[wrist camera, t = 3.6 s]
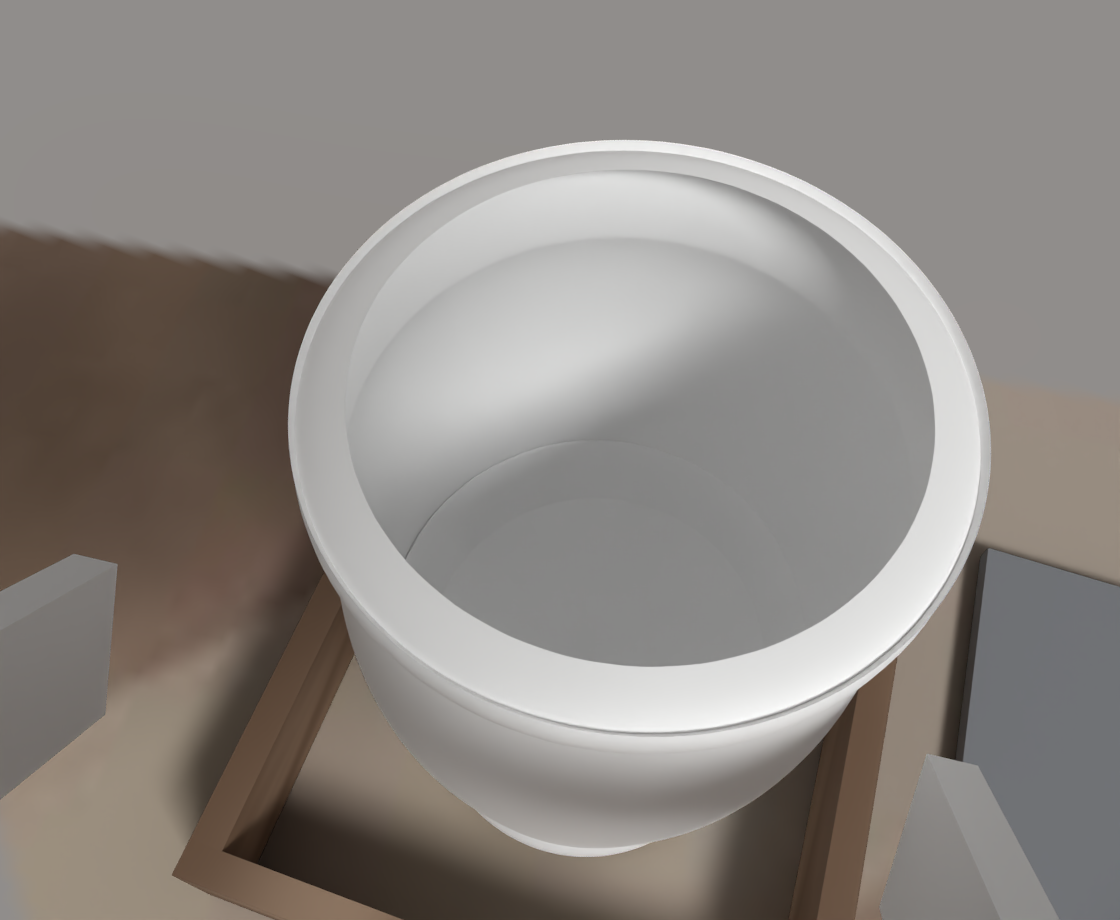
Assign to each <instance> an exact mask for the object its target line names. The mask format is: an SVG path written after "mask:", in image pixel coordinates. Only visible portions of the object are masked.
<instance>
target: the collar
mask: <svg viewBox="0 0 1120 920" xmlns="http://www.w3.org/2000/svg"><path fill="white" fill-rule="evenodd" d="M353 655H354V650H353V647H352V644H351V641H350V637H349V634H348V630H347V626H346V622H345V618H344V614H343V609H342V604H341V599H340V596H339V595H338V593H337V592H336V590H335V589H334V587H333V585H332V584H331V582H330V580H329V579H328V577H327V575H326V573H325V572H324V573H323V575H322V577H321V579H320V581H319V583H318V585H317V587H316V589H315V591H314V593H313V595H312V597H311V599H310V601H309V603H308V605H307V607H306V609H305V611H304V613H303V615H302V617H301V619H300V621H299V623H298V625H297V627H296V629H295V631H294V633H293V635H292V637H291V639H290V641H289V643H288V645H287V647H286V649H285V651H284V653H283V655H282V657H281V659H280V661H279V663H278V665H277V667H276V669H275V671H274V673H273V675H272V677H271V678H270V680H269V682H268V684H267V686H266V688H265V690H264V692H263V694H262V696H261V698H260V700H259V702H258V704H257V706H256V708H255V710H254V712H253V714H252V716H251V718H250V720H249V722H248V724H247V726H246V728H245V730H244V732H243V734H242V736H241V738H240V740H239V742H238V744H237V746H236V748H235V750H234V752H233V754H232V756H231V758H230V760H229V762H228V764H227V766H226V768H225V770H224V772H223V774H222V776H221V778H220V780H219V782H218V784H217V786H216V788H215V790H214V792H213V794H212V796H211V798H210V800H209V802H208V804H207V806H206V808H205V810H204V812H203V814H202V816H201V818H200V820H199V822H198V824H197V826H196V828H195V830H194V832H193V834H192V836H191V838H190V840H189V842H188V844H187V846H186V848H185V850H184V852H183V854H182V856H181V858H180V860H179V862H178V864H177V866H176V868H175V870H174V871H173V873H172V876H174V877H176V878H178V879H180V880H182V881H184V882H186V883H188V884H190V885H192V886H194V887H196V888H198V889H200V890H202V891H204V892H206V893H208V894H210V895H213V896H215V897H218V898H220V899H223V900H226V901H228V902H231V903H233V904H236V905H239V906H241V907H244V908H246V909H249V910H251V911H254V912H257V913H259V914H262V915H264V916H267V917H270V918H272V919H275V920H403V919H400V918H397V917H395V916H392V915H389V914H387V913H384V912H381V911H379V910H376V909H373V908H371V907H368V906H366V905H363V904H360V903H358V902H355V901H352V900H350V899H347V898H344V897H342V896H339V895H336V894H334V893H331V892H329V891H326V890H323V889H321V888H318V887H315V886H313V885H310V884H307V883H305V882H302V881H299V880H297V879H294V878H292V877H289V876H286V875H284V874H281V873H278V872H276V871H273V870H270V869H268V868H265V867H262V866H260V865H257V863H258V860H259V858H260V856H261V854H262V852H263V850H264V847H265V845H266V843H267V841H268V839H269V837H270V834H271V832H272V830H273V828H274V826H275V824H276V822H277V819H278V817H279V815H280V813H281V811H282V809H283V806H284V804H285V802H286V800H287V798H288V796H289V793H290V791H291V789H292V787H293V785H294V783H295V780H296V778H297V776H298V774H299V772H300V770H301V768H302V765H303V763H304V761H305V759H306V757H307V755H308V752H309V750H310V748H311V746H312V744H313V742H314V739H315V737H316V735H317V733H318V731H319V729H320V727H321V724H322V722H323V720H324V718H325V716H326V714H327V711H328V709H329V707H330V705H331V703H332V701H333V698H334V696H335V694H336V692H337V690H338V688H339V685H340V683H341V681H342V679H343V677H344V675H345V673H346V670H347V668H348V666H349V664H350V662H351V660H352V657H353ZM897 657H898V656H897ZM897 657H896V658H895V659H894V660H893V661H892V662H891V663H890V664H888V665H887V666H886V667H885V668H884V669H883V670H882V671H880V672H879V673H878V674H877V675H876V676H875V677H873V678H872V679H871V680H870V681H868V682H867V683H866V684H865V685H863V686H862V687H861V688H859V689H858V690H857V691H856V693H855V695H854V696H853V698H852V699H851V701H850V702H849V704H848V705H847V707H846V708H845V710H844V711H843V713H842V714H841V716H840V717H839V718H838V720H837V721H836V722H835V724H834V725H833V726H832V728H831V729H830V730H829V732H828V733H827V734H826V735H825V736H824V740H823V745H822V750H821V756H820V761H819V766H818V771H817V776H816V781H815V786H814V792H813V797H812V802H811V807H810V812H809V817H808V822H807V828H806V833H805V838H804V843H803V848H802V853H801V858H800V864H799V869H798V874H797V879H796V884H795V889H794V894H793V900H792V905H791V910H790V915H789V920H855V915H856V909H857V903H858V896H859V890H860V884H861V878H862V872H863V866H864V860H865V853H866V847H867V841H868V835H869V829H870V823H871V816H872V810H873V804H874V798H875V792H876V786H877V780H878V773H879V767H880V761H881V755H882V749H883V743H884V737H885V730H886V724H887V718H888V712H889V706H890V700H891V693H892V687H893V681H894V675H895V669H896V663H897Z"/></svg>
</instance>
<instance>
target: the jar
mask: <svg viewBox="0 0 1120 920" xmlns="http://www.w3.org/2000/svg"><path fill="white" fill-rule="evenodd" d="M288 440H289V452H290V461H291V467H292V473H293V478H294V482H295V488H296V493H297V498H298V503H299V507H300V511H301V514H302V518H303V521H304V524H305V527H306V530H307V532H308V535H309V538H310V540H311V543H312V545H313V548H314V550H315V553H316V555H317V557H318V560H319V562H320V564H321V566H322V568H323V570H324V572H325V573H326V575H327V577H328V579H329V580H330V582H331V584H332V585H333V587H334V589H335V590H336V592H337V593H338V595H339V596H340V599H341V604H342V609H343V614H344V618H345V622H346V626H347V630H348V634H349V637H350V641H351V644H352V647H353V650H354V653H355V656H356V659H357V661H358V664H359V666H360V669H361V671H362V674H363V676H364V678H365V681H366V683H367V685H368V687H369V689H370V691H371V693H372V695H373V697H374V699H375V701H376V703H377V705H378V707H379V708H380V710H381V712H382V713H383V715H384V717H385V718H386V720H387V722H388V723H389V725H390V726H391V728H392V729H393V731H394V732H395V734H396V735H397V736H398V738H399V739H400V740H401V742H402V743H403V744H404V746H405V747H406V748H407V749H408V751H409V752H410V753H411V754H412V755H413V757H414V758H415V759H416V760H417V761H418V762H419V763H420V764H421V765H422V766H423V767H424V769H425V770H426V771H427V772H428V773H429V774H430V775H432V776H433V777H434V778H435V779H436V780H437V781H438V782H439V783H440V784H441V785H443V786H444V787H445V788H446V789H447V790H449V791H450V792H451V793H452V794H454V795H455V796H456V797H458V798H459V799H460V800H462V801H463V802H464V803H466V804H467V805H469V806H470V807H472V808H474V809H475V810H476V811H477V812H478V813H479V814H480V815H481V816H482V817H483V818H485V819H486V820H487V821H488V822H489V823H491V824H492V825H493V826H494V827H496V828H497V829H499V830H500V831H501V832H503V833H505V834H506V835H508V836H510V837H511V838H513V839H515V840H517V841H519V842H521V843H523V844H526V845H528V846H530V847H533V848H536V849H539V850H542V851H546V852H550V853H554V854H559V855H565V856H575V857H598V856H607V855H613V854H618V853H623V852H626V851H630V850H633V849H636V848H639V847H641V846H644V845H646V844H649V843H651V842H655V841H660V840H664V839H668V838H672V837H676V836H679V835H682V834H686V833H689V832H691V831H694V830H697V829H699V828H702V827H704V826H707V825H709V824H711V823H714V822H716V821H718V820H720V819H722V818H724V817H726V816H728V815H730V814H732V813H734V812H735V811H737V810H739V809H741V808H742V807H744V806H746V805H747V804H749V803H750V802H752V801H753V800H755V799H756V798H758V797H759V796H761V795H762V794H764V793H765V792H766V791H768V790H769V789H770V788H772V787H773V786H774V785H775V784H777V783H778V782H779V781H780V780H782V779H783V778H784V777H785V776H786V775H787V774H789V773H790V772H791V771H792V770H793V769H794V768H795V767H796V766H797V765H798V764H799V763H800V762H801V761H802V760H804V758H805V757H806V756H807V755H808V754H809V753H810V752H811V751H812V750H813V749H814V748H815V747H816V746H817V745H818V743H819V742H820V741H821V740H822V739H823V738H824V736H825V735H826V734H827V733H828V732H829V730H830V729H831V728H832V726H833V725H834V724H835V722H836V721H837V720H838V718H839V717H840V716H841V714H842V713H843V711H844V710H845V708H846V707H847V705H848V704H849V702H850V701H851V699H852V698H853V696H854V695H855V693H856V691H857V690H858V689H859V688H861V687H862V686H863V685H865V684H866V683H867V682H868V681H870V680H871V679H872V678H873V677H875V676H876V675H877V674H878V673H879V672H880V671H882V670H883V669H884V668H885V667H886V666H887V665H888V664H890V663H891V662H892V661H893V660H894V659H895V658H896V657H897V656H898V655H899V654H900V653H901V652H902V651H903V650H904V649H905V648H906V647H907V646H908V645H909V644H910V643H911V641H912V640H913V639H914V638H915V637H916V636H917V634H918V633H919V632H920V630H921V629H922V628H923V627H924V625H925V624H926V623H927V621H928V620H929V618H930V617H931V616H932V614H933V613H934V612H935V610H936V609H937V608H938V606H939V605H940V604H941V602H942V601H943V600H944V598H945V597H946V595H947V594H948V592H949V591H950V589H951V587H952V586H953V584H954V583H955V581H956V579H957V577H958V576H959V574H960V572H961V570H962V568H963V566H964V564H965V562H966V560H967V558H968V556H969V553H970V551H971V549H972V546H973V544H974V541H975V539H976V536H977V533H978V530H979V527H980V523H981V520H982V516H983V512H984V508H985V504H986V499H987V493H988V487H989V479H990V467H991V437H990V425H989V417H988V410H987V404H986V399H985V395H984V390H983V386H982V383H981V379H980V376H979V373H978V370H977V367H976V364H975V361H974V358H973V356H972V353H971V351H970V349H969V346H968V344H967V342H966V339H965V337H964V335H963V333H962V331H961V329H960V327H959V325H958V323H957V322H956V320H955V318H954V316H953V315H952V313H951V311H950V310H949V308H948V307H947V305H946V303H945V302H944V300H943V299H942V297H941V296H940V294H939V293H938V292H937V290H936V289H935V288H934V286H933V285H932V284H931V282H930V281H929V280H928V278H927V277H926V276H925V275H924V274H923V272H922V271H921V270H920V269H919V268H918V267H917V265H916V264H915V263H914V262H913V261H912V260H911V259H910V258H909V257H908V256H907V255H906V254H905V253H904V252H903V251H902V250H901V249H900V248H899V247H898V246H897V245H896V244H895V243H894V242H893V241H892V240H891V239H890V238H888V237H887V236H886V235H885V234H884V233H883V232H882V231H880V230H879V229H878V228H877V227H876V226H874V225H873V224H872V223H870V222H869V221H868V220H867V219H865V218H864V217H863V216H861V215H860V214H858V213H857V212H856V211H854V210H853V209H851V208H850V207H848V206H847V205H845V204H844V203H842V202H841V201H839V200H837V199H836V198H834V197H832V196H831V195H829V194H827V193H826V192H824V191H822V190H820V189H818V188H816V187H814V186H812V185H811V184H808V183H807V182H805V181H802V180H800V179H798V178H796V177H794V176H792V175H790V174H787V173H785V172H783V171H780V170H778V169H775V168H773V167H769V166H767V165H764V164H762V163H759V162H756V161H753V160H750V159H746V158H743V157H740V156H736V155H733V154H729V153H725V152H721V151H716V150H712V149H707V148H702V147H697V146H691V145H685V144H677V143H669V142H659V141H643V140H605V141H590V142H579V143H571V144H564V145H558V146H552V147H547V148H542V149H537V150H533V151H528V152H525V153H521V154H517V155H513V156H510V157H507V158H503V159H500V160H497V161H494V162H492V163H489V164H486V165H484V166H481V167H479V168H476V169H474V170H471V171H469V172H466V173H464V174H462V175H460V176H458V177H456V178H454V179H452V180H450V181H448V182H446V183H444V184H442V185H440V186H438V187H437V188H435V189H433V190H431V191H430V192H428V193H426V194H425V195H423V196H421V197H420V198H419V199H417V200H415V201H414V202H412V203H411V204H409V205H408V206H407V207H405V208H404V209H403V210H401V211H400V212H398V213H397V214H396V215H395V216H393V217H392V218H391V219H390V220H388V221H387V222H386V223H385V224H384V225H383V226H381V227H380V228H379V229H378V230H377V231H376V232H375V233H374V234H373V235H372V236H371V237H370V238H369V239H368V240H367V241H366V242H365V243H364V244H363V245H362V246H361V247H360V248H359V249H358V250H357V251H356V252H355V253H354V255H353V256H352V257H351V258H350V259H349V260H348V262H347V263H346V264H345V265H344V267H343V268H342V269H341V271H340V272H339V273H338V275H337V276H336V278H335V279H334V280H333V282H332V283H331V285H330V286H329V288H328V290H327V291H326V293H325V295H324V296H323V298H322V300H321V301H320V303H319V305H318V307H317V309H316V311H315V313H314V315H313V317H312V319H311V321H310V324H309V326H308V328H307V331H306V333H305V336H304V339H303V341H302V344H301V347H300V350H299V354H298V357H297V361H296V365H295V369H294V373H293V378H292V384H291V390H290V398H289V410H288Z"/></svg>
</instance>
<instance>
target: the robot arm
mask: <svg viewBox="0 0 1120 920" xmlns="http://www.w3.org/2000/svg"><path fill="white" fill-rule="evenodd" d="M117 565H118V564H115V563H111V562H107V561H102V560H98V559H94V558H90V557H85V556H81V555H77V554H72V555H70V556H69V557H67V558H65V559H63V560H61V561H59V562H57V563H55V564H53V565H51V566H49V567H47V568H45V569H43V570H41V571H39V572H37V573H35V574H33V575H31V576H29V577H27V578H26V579H24V580H22V581H20V582H18V583H16V584H14V585H12V586H10V587H8V588H6V589H4V590H2V591H0V799H2V798H3V797H4V796H5V795H7V794H8V793H9V792H10V791H12V790H13V789H14V788H15V787H16V786H18V785H19V784H20V783H21V782H23V781H24V780H25V779H26V778H28V777H29V776H30V775H31V774H32V773H34V772H35V771H36V770H37V769H39V768H40V767H41V766H42V765H44V764H45V763H46V762H47V761H49V760H50V759H51V758H52V757H53V756H55V755H56V754H57V753H58V752H60V751H61V750H62V749H63V748H65V747H66V746H67V745H68V744H69V743H71V742H72V741H73V740H74V739H76V738H77V737H78V736H79V735H81V734H82V733H83V732H84V731H86V730H87V729H88V728H89V727H90V726H92V725H93V724H94V723H95V722H97V721H98V720H99V719H100V718H102V717H103V716H104V715H105V711H106V698H107V686H108V674H109V662H110V650H111V638H112V625H113V613H114V601H115V589H116V577H117ZM879 908H880V912H881V915H882V919H883V920H1059V918H1058V916H1057V914H1056V912H1055V910H1054V908H1053V906H1052V905H1051V903H1050V901H1049V899H1048V897H1047V895H1046V893H1045V891H1044V890H1043V888H1042V886H1041V884H1040V882H1039V880H1038V878H1037V876H1036V874H1035V873H1034V871H1033V869H1032V867H1031V865H1030V863H1029V861H1028V859H1027V857H1026V856H1025V854H1024V852H1023V850H1022V848H1021V846H1020V844H1019V842H1018V840H1017V839H1016V837H1015V835H1014V833H1013V831H1012V829H1011V827H1010V825H1009V823H1008V822H1007V820H1006V818H1005V816H1004V814H1003V812H1002V810H1001V808H1000V806H999V805H998V803H997V801H996V799H995V797H994V795H993V793H992V791H991V789H990V788H989V786H988V784H987V782H986V780H985V778H984V776H983V774H982V773H981V771H980V769H979V767H978V765H973V764H969V763H965V762H960V761H956V760H952V759H948V758H943V757H939V756H935V755H931V754H927V755H926V758H925V761H924V764H923V767H922V771H921V774H920V777H919V780H918V784H917V787H916V790H915V793H914V797H913V800H912V803H911V806H910V809H909V813H908V816H907V819H906V822H905V826H904V829H903V832H902V835H901V838H900V842H899V845H898V848H897V851H896V855H895V858H894V861H893V864H892V867H891V871H890V874H889V877H888V880H887V884H886V887H885V890H884V893H883V896H882V900H881V903H880V906H879Z"/></svg>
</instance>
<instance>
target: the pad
mask: <svg viewBox="0 0 1120 920" xmlns="http://www.w3.org/2000/svg"><path fill="white" fill-rule="evenodd" d="M955 760H956V761H960V762H965V763H969V764H973V765H978V767H979V769H980V771H981V773H982V774H983V776H984V778H985V780H986V782H987V784H988V786H989V788H990V789H991V791H992V793H993V795H994V797H995V799H996V801H997V803H998V805H999V806H1000V808H1001V810H1002V812H1003V814H1004V816H1005V818H1006V820H1007V822H1008V823H1009V825H1010V827H1011V829H1012V831H1013V833H1014V835H1015V837H1016V839H1017V840H1018V842H1019V844H1020V846H1021V848H1022V850H1023V852H1024V854H1025V856H1026V857H1027V859H1028V861H1029V863H1030V865H1031V867H1032V869H1033V871H1034V873H1035V874H1036V876H1037V878H1038V880H1039V882H1040V884H1041V886H1042V888H1043V890H1044V891H1045V893H1046V895H1047V897H1048V899H1049V901H1050V903H1051V905H1052V906H1053V908H1054V910H1055V912H1056V914H1057V916H1058V918H1059V920H1120V587H1118V586H1115V585H1111V584H1108V583H1105V582H1101V581H1098V580H1095V579H1091V578H1088V577H1085V576H1081V575H1078V574H1074V573H1071V572H1068V571H1064V570H1061V569H1058V568H1054V567H1051V566H1048V565H1044V564H1041V563H1038V562H1034V561H1031V560H1027V559H1024V558H1021V557H1017V556H1014V555H1011V554H1007V553H1004V552H1001V551H997V550H994V549H990V548H988V549H987V550H986V551H985V552H984V553H983V554H982V555H981V557H980V564H979V572H978V580H977V588H976V597H975V605H974V613H973V621H972V629H971V637H970V645H969V653H968V661H967V669H966V677H965V686H964V694H963V702H962V710H961V718H960V726H959V734H958V742H957V750H956V758H955Z"/></svg>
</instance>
